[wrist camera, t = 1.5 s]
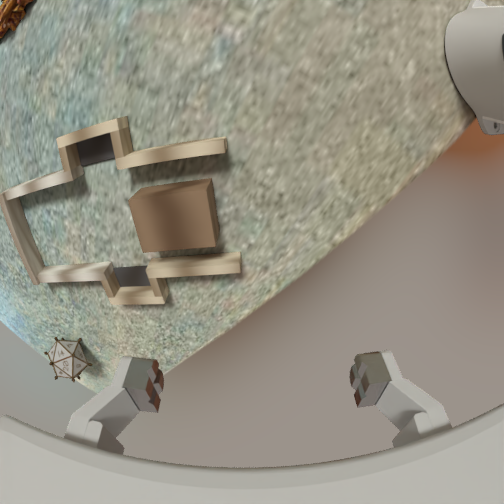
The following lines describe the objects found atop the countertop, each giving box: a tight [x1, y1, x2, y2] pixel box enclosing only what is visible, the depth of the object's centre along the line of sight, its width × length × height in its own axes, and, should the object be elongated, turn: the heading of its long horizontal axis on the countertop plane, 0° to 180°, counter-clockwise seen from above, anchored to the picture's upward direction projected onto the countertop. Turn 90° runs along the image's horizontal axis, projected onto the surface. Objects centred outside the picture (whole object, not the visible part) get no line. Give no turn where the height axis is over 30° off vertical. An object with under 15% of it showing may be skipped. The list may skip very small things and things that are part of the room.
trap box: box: [0, 116, 242, 305], centre depth 30 cm, size 31×22×3 cm
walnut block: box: [128, 178, 220, 253], centre depth 29 cm, size 8×6×4 cm
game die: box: [44, 337, 92, 382], centre depth 40 cm, size 9×8×10 cm
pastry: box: [0, 0, 33, 38], centre depth 14 cm, size 7×12×4 cm, turn 133°
